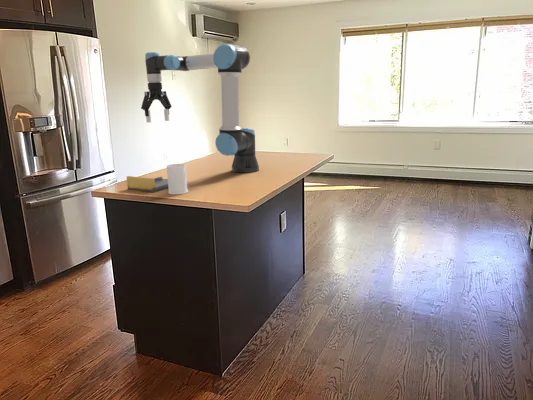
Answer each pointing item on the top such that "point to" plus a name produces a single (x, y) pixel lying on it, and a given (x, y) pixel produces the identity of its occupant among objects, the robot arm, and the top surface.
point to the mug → (177, 179)
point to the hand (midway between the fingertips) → (158, 121)
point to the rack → (146, 184)
